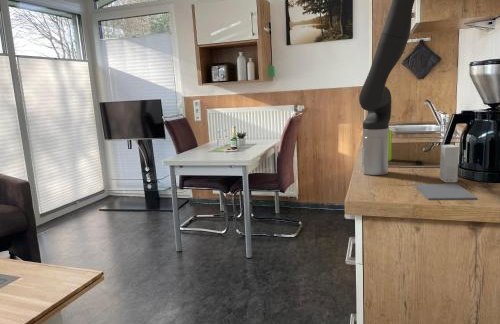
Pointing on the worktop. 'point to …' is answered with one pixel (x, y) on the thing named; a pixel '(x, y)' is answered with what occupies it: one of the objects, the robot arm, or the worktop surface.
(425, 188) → the rubber mat
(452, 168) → the skincare box
